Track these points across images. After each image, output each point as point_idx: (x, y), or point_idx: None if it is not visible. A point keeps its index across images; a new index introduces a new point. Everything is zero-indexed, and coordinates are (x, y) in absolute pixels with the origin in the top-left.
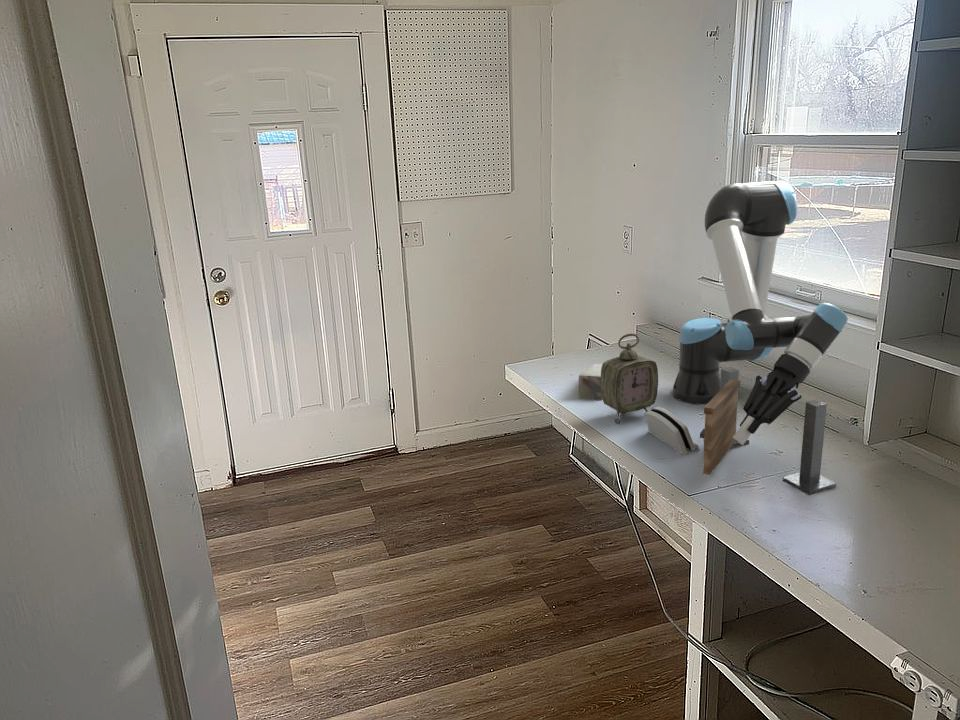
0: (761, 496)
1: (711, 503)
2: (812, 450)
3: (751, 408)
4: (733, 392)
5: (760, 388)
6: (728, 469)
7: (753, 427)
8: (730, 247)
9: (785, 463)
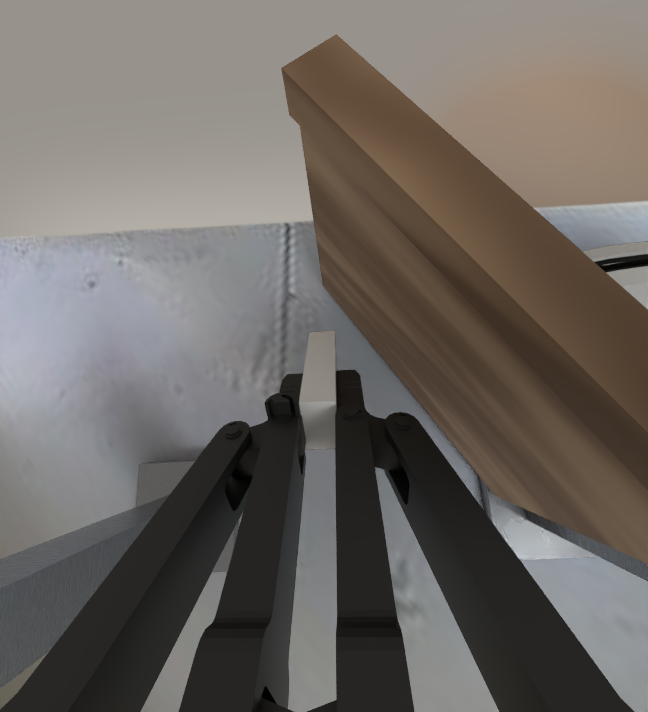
0: (205, 353)
1: (237, 241)
2: (75, 530)
3: (359, 437)
4: (612, 441)
5: (513, 690)
6: (359, 374)
7: (280, 390)
8: None
9: (321, 554)
